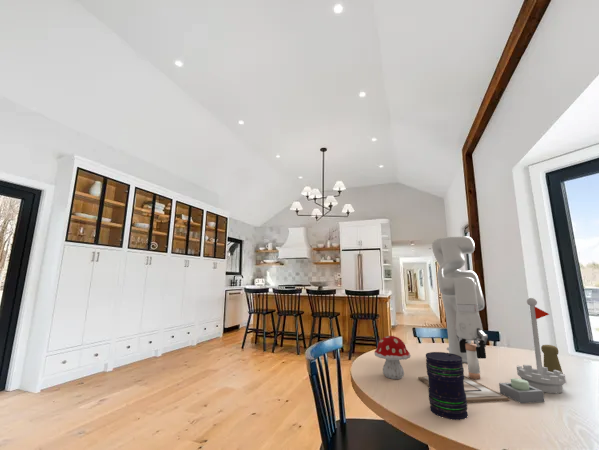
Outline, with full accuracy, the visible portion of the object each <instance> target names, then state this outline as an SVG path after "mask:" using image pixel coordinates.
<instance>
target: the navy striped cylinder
mask: <svg viewBox="0 0 599 450" xmlns="http://www.w3.org/2000/svg"><path fill="white" fill-rule="evenodd" d="M425 358H426V359H425V362H426V363H425V365H426V374H427V376H428V378H429V386H428V388H427V389H428V400H429V405H430V406H429V409H430V412H431V413H432V414H434V415H435V416H436V417H439V416H440V417H439V418H442V417H443V418H442V419H446V420H451V419H452V420H451V421H461V420H460V419H463V420H466V419H467V418H468V417H469V413H468V403H467V400H466V393H465V391H464V381H463V380H464V376H465V374H464V373H465V370H464V364H463V363H462V357H461V356H459V355H456V354H451V353H449V352H442V351H431V352H427V353H426V354H425ZM467 416H468V417H467ZM465 418H466V419H465Z"/></svg>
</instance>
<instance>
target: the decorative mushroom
mask: <svg viewBox="0 0 599 450" xmlns="http://www.w3.org/2000/svg"><path fill="white" fill-rule="evenodd" d="M374 356H375V357H377V358H380V359H384V360H385V361H384V364H383V366H382V373H383V375H384V377H385V378H388V379H392V380H400V379H403V377H404V375H405V372H404V367H403V366H402V363H401V362H400V361H402V360H403V361H404V360H407V359H410V358H411V356H412V355H411V353H410V352H409V351H408V349H407V347H406V343H404V341H403V340H402V339H401V338H400V337H397V336H395V335H386V336H384V337H382V338H381V339H380V340H379V341H378V344H377V347H376V349H375V350H374Z"/></svg>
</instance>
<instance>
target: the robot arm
mask: <svg viewBox="0 0 599 450" xmlns="http://www.w3.org/2000/svg"><path fill="white" fill-rule="evenodd" d="M431 246H432V247H431V248H432V252H433V256H434V258H435V260H436V261H437V264H438V265H439V268H438V270H437V273H436V275H437V279H436V280H437V284H438V288H439V291H440V293H441V300H442V303H443V308H444V313H445V320H446V330H447V340H448V347H447V348H446V350H447V351H448V353H451V354H456V355H459V356H461V357H462V363H464V364H465V363H466V364H468V363H467V353H466V346H465V344H466V343H472V341H473V342H474V344H476V345H477V347H476V353H477V358H478V360H479V359H480V360H481V359H486V358H487V355H486V354H487V353H486V347H487V343H488V339H489V338H488V334H486V333H485V332H484V331H483V330H484V329H483V323H482V319H481V317H480V311H482V310H484V309H485V305H486V304H485V303H486V302H485V298H484V294H483V291H482V287H481V282H480V279H479V276H478V275H477V273H476V272H475V271H473V270H461V269H462V268H463V267H464V266H465V263H466V259H465V256H464V255H465V254H467V255H468V254H470V255H471V254H473V253H474V251H475V250H476V249H475V248H476V246H475V241H474V240H473V238H472V237H470V236H467V235H464V236H448V237H441V238H437V239H435V240H433V242H432V245H431Z"/></svg>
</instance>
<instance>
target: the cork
mask: <svg viewBox="0 0 599 450" xmlns="http://www.w3.org/2000/svg"><path fill="white" fill-rule="evenodd" d="M540 351H541V353H543V367H546V368H548V371H550V372H553V370H558V371H560V372H562V374H564V373H563V369H562V366H561V363H560V359H559V349H558V347H557V346H556V345H552V344H542V345H540ZM553 373H554V372H553Z"/></svg>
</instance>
